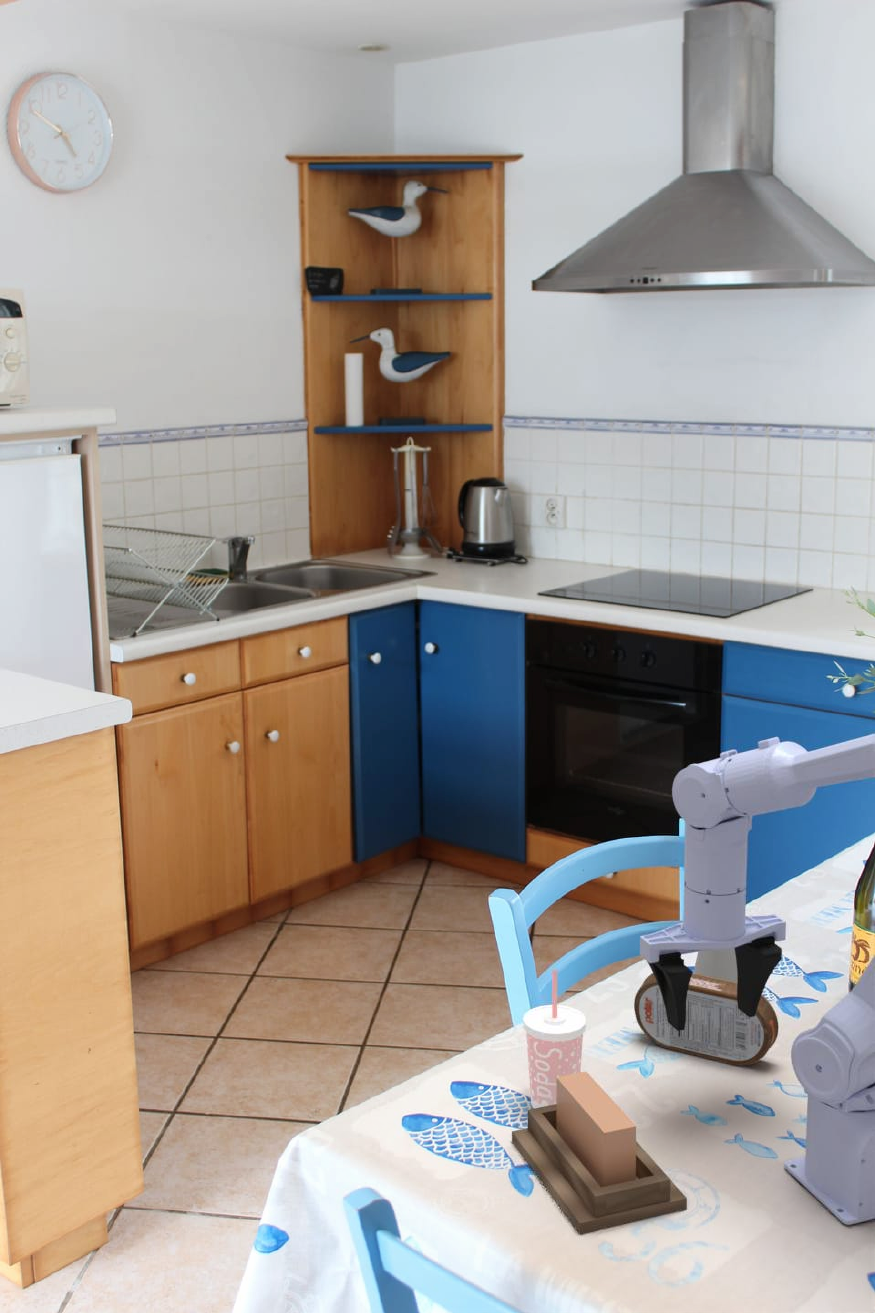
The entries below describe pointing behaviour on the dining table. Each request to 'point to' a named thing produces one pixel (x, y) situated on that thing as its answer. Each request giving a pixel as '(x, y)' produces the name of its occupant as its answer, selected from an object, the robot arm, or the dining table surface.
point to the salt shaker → (717, 964)
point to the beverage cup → (552, 1046)
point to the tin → (708, 1022)
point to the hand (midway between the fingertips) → (711, 1019)
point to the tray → (593, 1180)
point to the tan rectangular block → (595, 1129)
